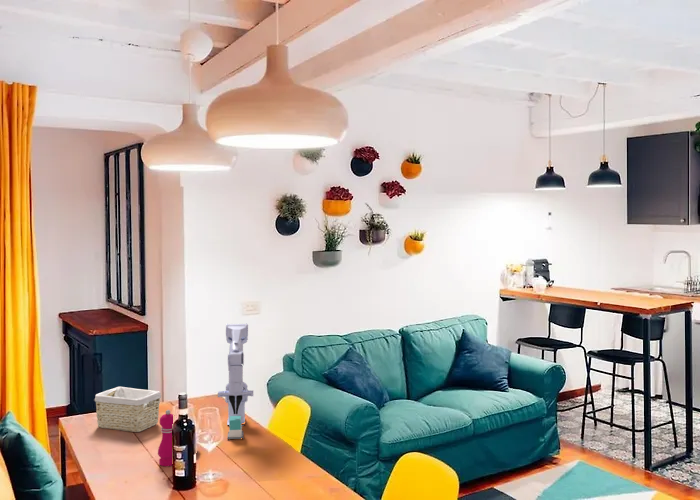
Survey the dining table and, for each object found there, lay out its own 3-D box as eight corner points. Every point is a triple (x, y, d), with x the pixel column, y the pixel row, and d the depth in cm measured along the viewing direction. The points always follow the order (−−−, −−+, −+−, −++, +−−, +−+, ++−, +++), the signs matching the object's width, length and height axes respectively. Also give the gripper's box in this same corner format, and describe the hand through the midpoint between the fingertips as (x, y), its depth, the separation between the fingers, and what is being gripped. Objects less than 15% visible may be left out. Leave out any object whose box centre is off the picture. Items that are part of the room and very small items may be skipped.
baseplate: (228, 434, 276) (228, 431, 276) (243, 434, 277) (243, 430, 277) (227, 440, 269) (227, 437, 269) (243, 439, 270) (243, 436, 270)
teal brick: (230, 425, 276) (230, 416, 276) (240, 425, 276) (240, 415, 276) (229, 430, 270) (229, 420, 270) (240, 429, 270) (240, 420, 270)
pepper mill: (153, 464, 242) (153, 410, 241) (167, 458, 248) (167, 406, 247) (168, 468, 238) (168, 413, 237) (182, 462, 245) (182, 408, 244)
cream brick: (229, 432, 276) (229, 425, 276) (241, 432, 277) (241, 425, 276) (229, 437, 270) (229, 430, 270) (241, 436, 271) (241, 429, 271)
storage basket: (92, 427, 284) (92, 394, 283) (118, 417, 299) (118, 385, 298) (138, 434, 275) (138, 400, 275) (162, 423, 290) (162, 390, 290)
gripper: (217, 383, 267) (217, 416, 268) (253, 383, 269) (253, 415, 270) (218, 379, 274) (218, 411, 275) (253, 378, 276) (253, 410, 277)
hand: (235, 413), depth 273 cm, fingers closed
